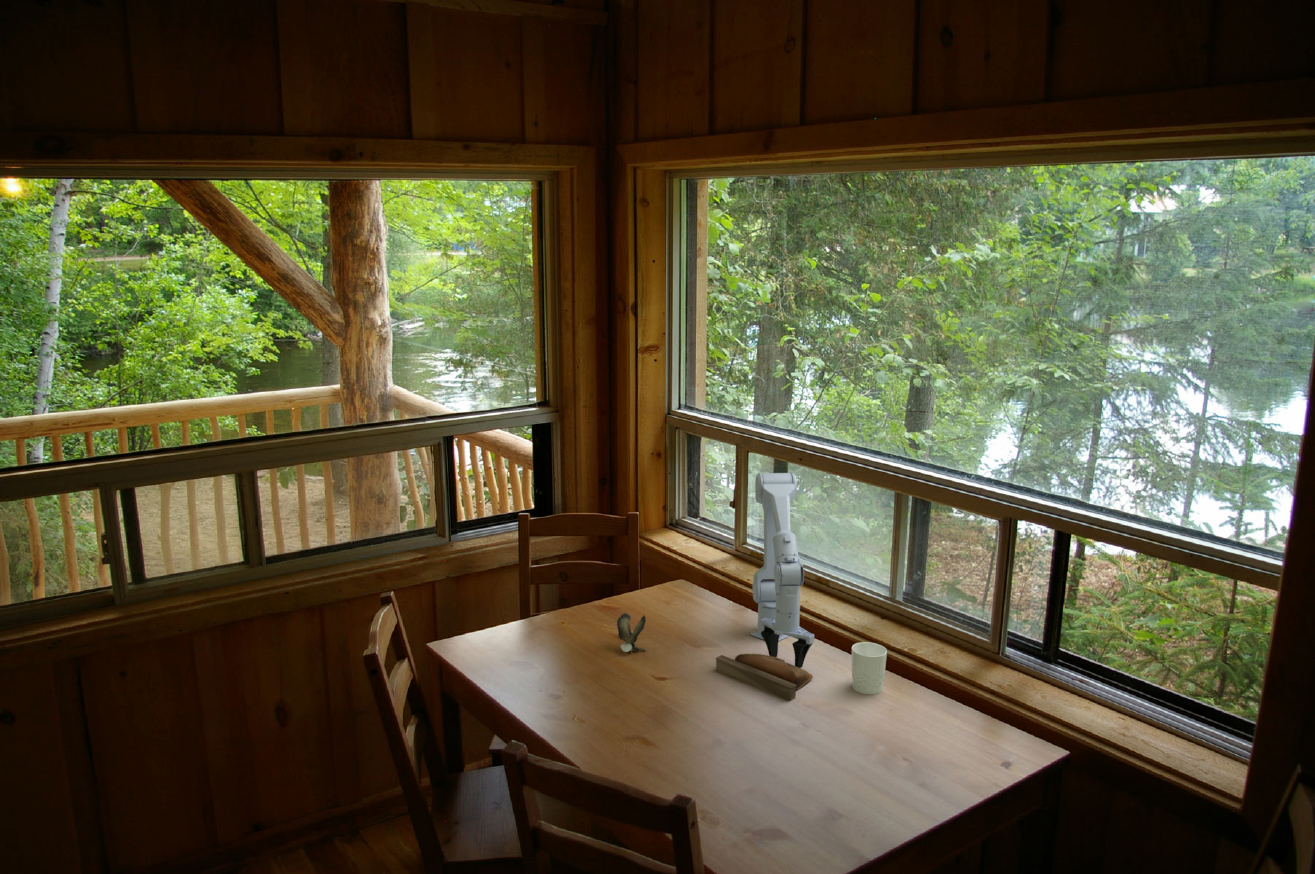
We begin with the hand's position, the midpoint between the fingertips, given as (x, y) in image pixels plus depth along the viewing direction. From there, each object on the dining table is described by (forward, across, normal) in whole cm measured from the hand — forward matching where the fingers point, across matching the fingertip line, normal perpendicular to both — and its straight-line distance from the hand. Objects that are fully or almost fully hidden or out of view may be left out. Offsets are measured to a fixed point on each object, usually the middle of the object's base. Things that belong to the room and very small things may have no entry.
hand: (785, 662), depth 216 cm
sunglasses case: (+2, 0, -3) cm, 4 cm away
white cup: (+2, +20, +4) cm, 21 cm away
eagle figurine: (+2, -34, -19) cm, 39 cm away
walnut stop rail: (+1, 0, -12) cm, 12 cm away
